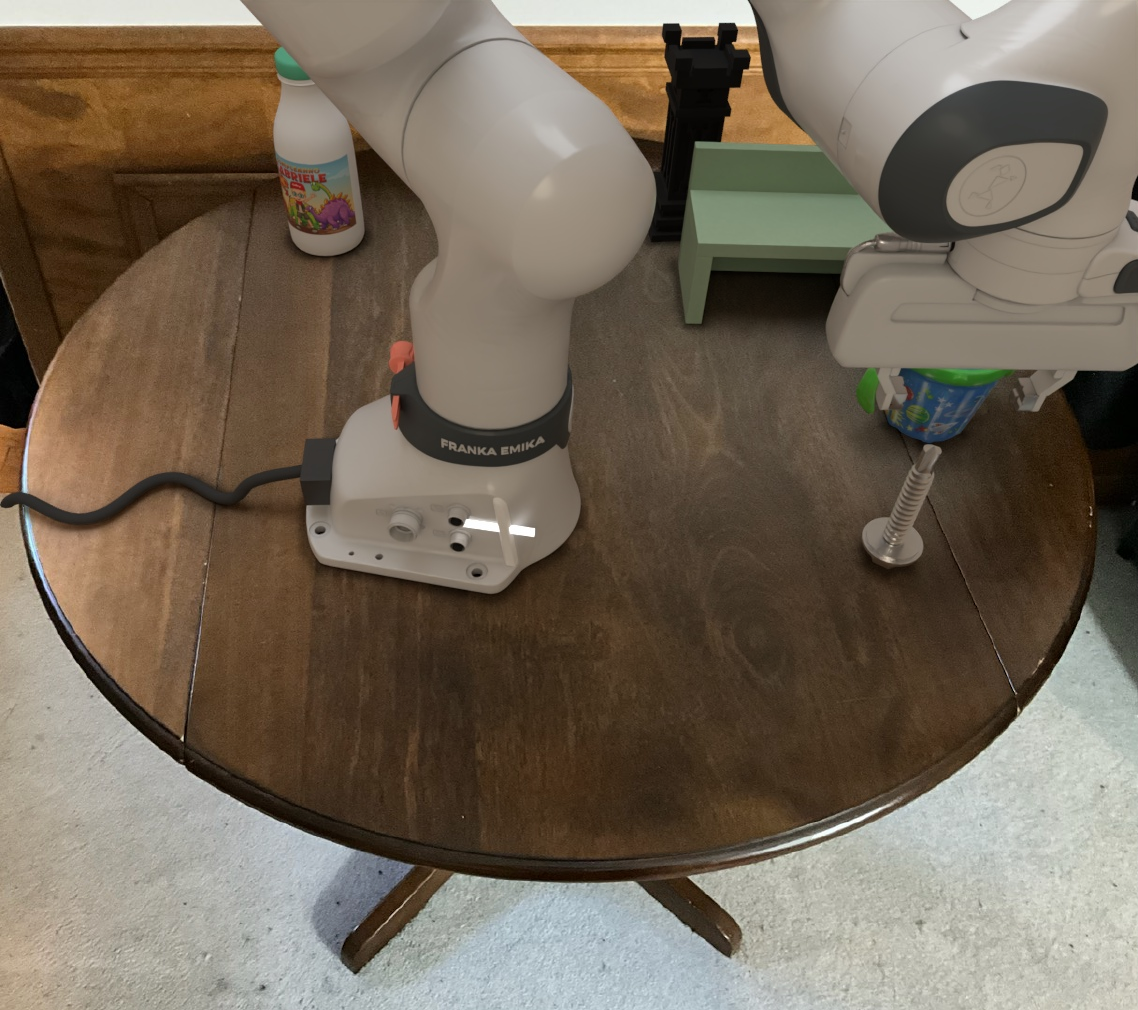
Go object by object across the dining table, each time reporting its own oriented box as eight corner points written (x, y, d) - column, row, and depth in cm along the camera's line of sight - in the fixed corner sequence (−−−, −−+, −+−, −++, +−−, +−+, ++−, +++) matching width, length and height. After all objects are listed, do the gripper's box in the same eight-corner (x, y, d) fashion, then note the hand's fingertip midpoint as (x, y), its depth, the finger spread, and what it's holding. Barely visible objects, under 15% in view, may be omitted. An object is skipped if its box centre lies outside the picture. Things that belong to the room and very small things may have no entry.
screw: (843, 545, 85) (890, 526, 87) (880, 588, 83) (928, 568, 84) (886, 433, 76) (938, 414, 77) (929, 478, 73) (982, 457, 74)
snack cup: (870, 472, 91) (902, 386, 83) (820, 391, 97) (846, 304, 90) (1026, 443, 94) (1072, 358, 86) (968, 367, 101) (1006, 281, 93)
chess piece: (639, 199, 117) (658, 21, 102) (709, 197, 118) (737, 20, 103) (651, 241, 112) (672, 60, 97) (723, 239, 113) (756, 59, 98)
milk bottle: (304, 212, 113) (271, 28, 98) (373, 220, 113) (351, 36, 98) (281, 253, 108) (243, 67, 93) (354, 262, 108) (327, 76, 92)
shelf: (685, 323, 103) (704, 200, 93) (677, 262, 110) (694, 141, 99) (904, 329, 104) (948, 207, 93) (883, 268, 111) (922, 148, 100)
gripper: (862, 266, 59) (813, 435, 70) (1217, 271, 60) (1114, 439, 70) (842, 202, 63) (799, 371, 74) (1174, 207, 64) (1084, 375, 74)
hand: (955, 404), depth 72 cm, fingers open, 8 cm apart
